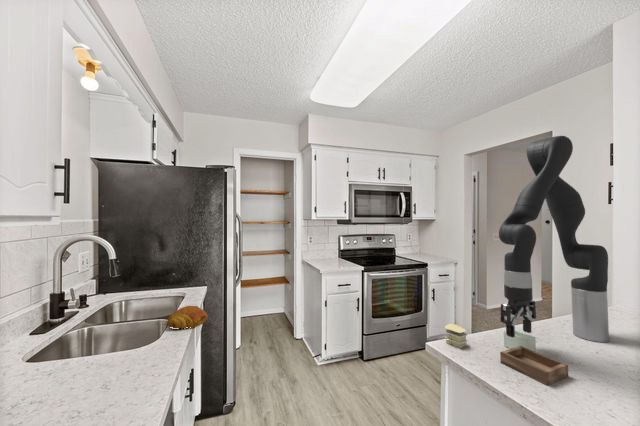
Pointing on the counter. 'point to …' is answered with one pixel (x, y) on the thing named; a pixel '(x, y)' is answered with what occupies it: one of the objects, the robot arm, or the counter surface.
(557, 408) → the counter surface
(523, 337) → the box
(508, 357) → the big crate
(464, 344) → the stacked layers on plate
